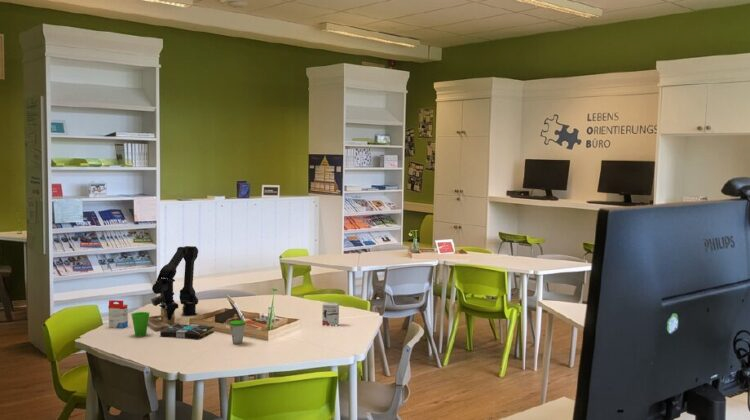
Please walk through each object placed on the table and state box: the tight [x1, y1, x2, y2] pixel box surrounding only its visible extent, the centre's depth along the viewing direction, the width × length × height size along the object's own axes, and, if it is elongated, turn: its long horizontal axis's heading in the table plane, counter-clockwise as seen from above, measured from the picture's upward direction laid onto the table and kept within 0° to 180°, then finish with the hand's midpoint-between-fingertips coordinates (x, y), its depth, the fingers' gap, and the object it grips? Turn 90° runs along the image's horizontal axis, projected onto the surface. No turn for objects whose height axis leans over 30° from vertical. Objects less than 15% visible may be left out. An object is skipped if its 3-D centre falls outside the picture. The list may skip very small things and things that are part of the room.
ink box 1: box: [108, 299, 129, 329], centre depth 350 cm, size 8×5×15 cm, turn 84°
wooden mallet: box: [149, 307, 176, 325], centre depth 359 cm, size 14×5×8 cm, turn 124°
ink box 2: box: [321, 302, 340, 326], centre depth 361 cm, size 8×5×12 cm, turn 86°
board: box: [147, 318, 171, 332], centre depth 355 cm, size 8×25×2 cm, turn 35°
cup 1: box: [130, 311, 151, 337], centre depth 334 cm, size 9×9×11 cm
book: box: [159, 323, 215, 341], centre depth 337 cm, size 22×17×5 cm
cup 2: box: [229, 313, 246, 345], centre depth 321 cm, size 8×8×15 cm
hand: (167, 319), depth 361 cm, fingers closed on wooden mallet, 5 cm apart
